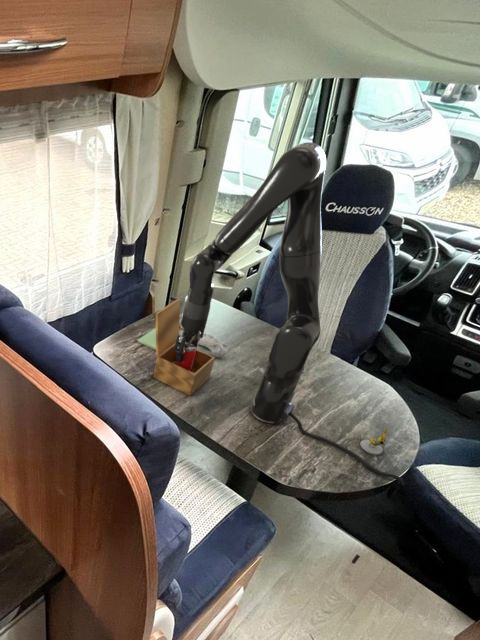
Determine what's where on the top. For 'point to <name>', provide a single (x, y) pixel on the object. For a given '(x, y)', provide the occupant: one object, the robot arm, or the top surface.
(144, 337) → the pad
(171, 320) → the chest lid
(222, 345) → the decorative stone
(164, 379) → the chest
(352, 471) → the top surface
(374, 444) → the figurine
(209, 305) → the robot arm
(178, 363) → the beverage can
